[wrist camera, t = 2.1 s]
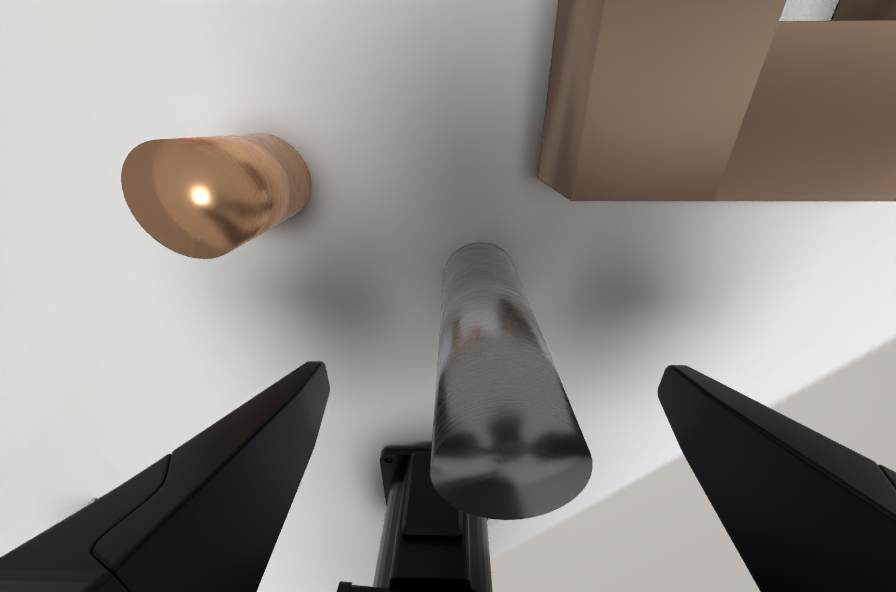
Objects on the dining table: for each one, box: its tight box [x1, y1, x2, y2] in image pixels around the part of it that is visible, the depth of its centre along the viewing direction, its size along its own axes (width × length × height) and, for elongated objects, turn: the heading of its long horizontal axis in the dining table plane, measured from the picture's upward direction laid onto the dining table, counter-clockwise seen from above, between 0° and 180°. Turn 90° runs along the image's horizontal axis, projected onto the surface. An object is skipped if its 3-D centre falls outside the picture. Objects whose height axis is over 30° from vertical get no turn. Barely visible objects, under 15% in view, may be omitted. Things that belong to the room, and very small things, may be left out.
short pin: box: [121, 134, 311, 259], centre depth 10 cm, size 3×3×4 cm
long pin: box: [430, 243, 592, 520], centre depth 10 cm, size 3×3×9 cm
